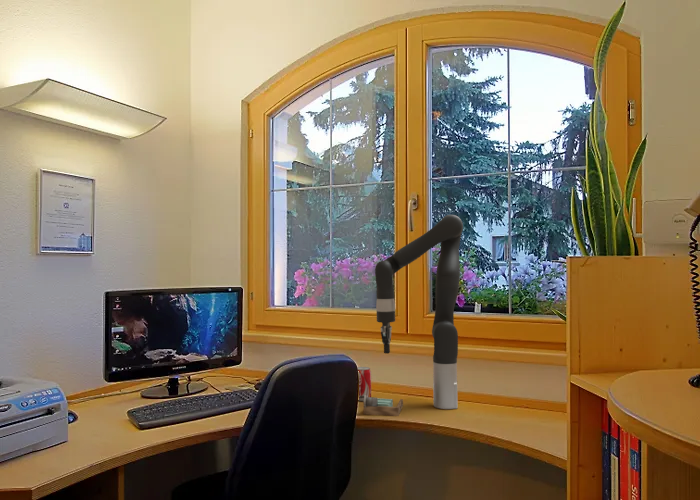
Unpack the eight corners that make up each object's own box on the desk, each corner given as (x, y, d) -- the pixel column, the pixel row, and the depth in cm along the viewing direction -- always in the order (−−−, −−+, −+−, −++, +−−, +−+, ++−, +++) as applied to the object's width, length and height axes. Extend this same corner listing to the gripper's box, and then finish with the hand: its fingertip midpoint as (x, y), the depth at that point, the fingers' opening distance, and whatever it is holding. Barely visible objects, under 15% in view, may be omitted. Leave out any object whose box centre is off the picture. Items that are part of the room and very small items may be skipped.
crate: (392, 409, 211) (392, 398, 211) (388, 415, 204) (388, 403, 204) (372, 408, 213) (372, 397, 214) (367, 413, 206) (367, 402, 206)
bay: (402, 405, 216) (402, 388, 216) (397, 417, 200) (397, 398, 200) (366, 404, 219) (366, 386, 219) (358, 415, 203) (358, 396, 203)
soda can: (351, 401, 224) (351, 369, 224) (356, 397, 231) (356, 366, 231) (368, 402, 222) (368, 370, 222) (373, 398, 229) (373, 366, 229)
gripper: (392, 311, 213) (394, 356, 213) (397, 308, 226) (398, 350, 226) (373, 311, 215) (375, 355, 214) (379, 308, 228) (380, 350, 227)
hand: (386, 353), depth 220 cm, fingers closed
